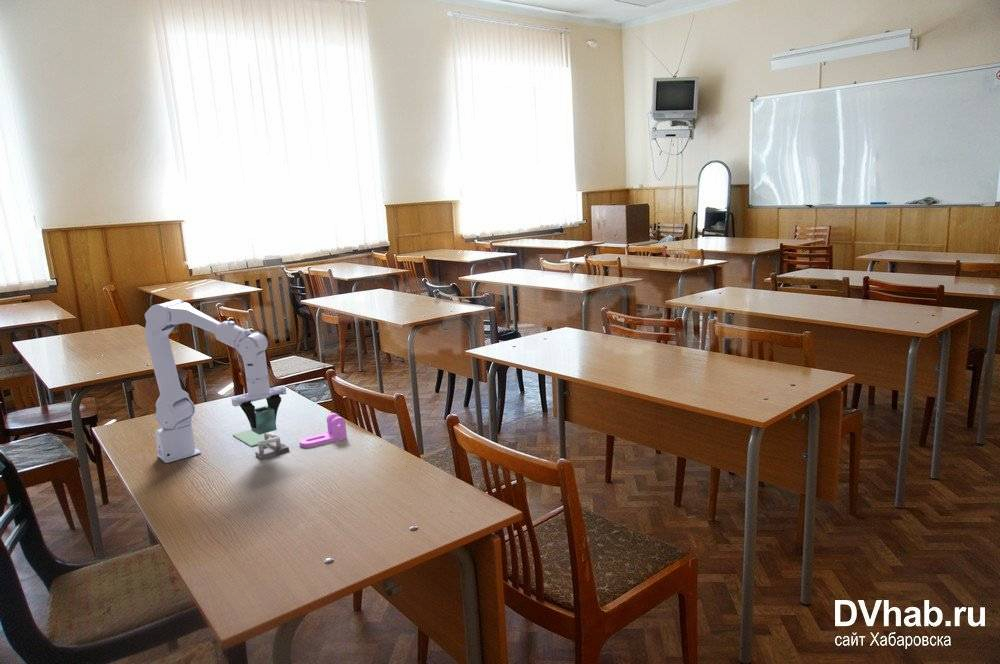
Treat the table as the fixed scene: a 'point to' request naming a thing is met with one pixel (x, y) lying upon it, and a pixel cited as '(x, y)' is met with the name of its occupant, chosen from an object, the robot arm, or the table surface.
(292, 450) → the table surface
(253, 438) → the end mat
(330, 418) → the bracket
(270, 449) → the bar handle
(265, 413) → the collar
